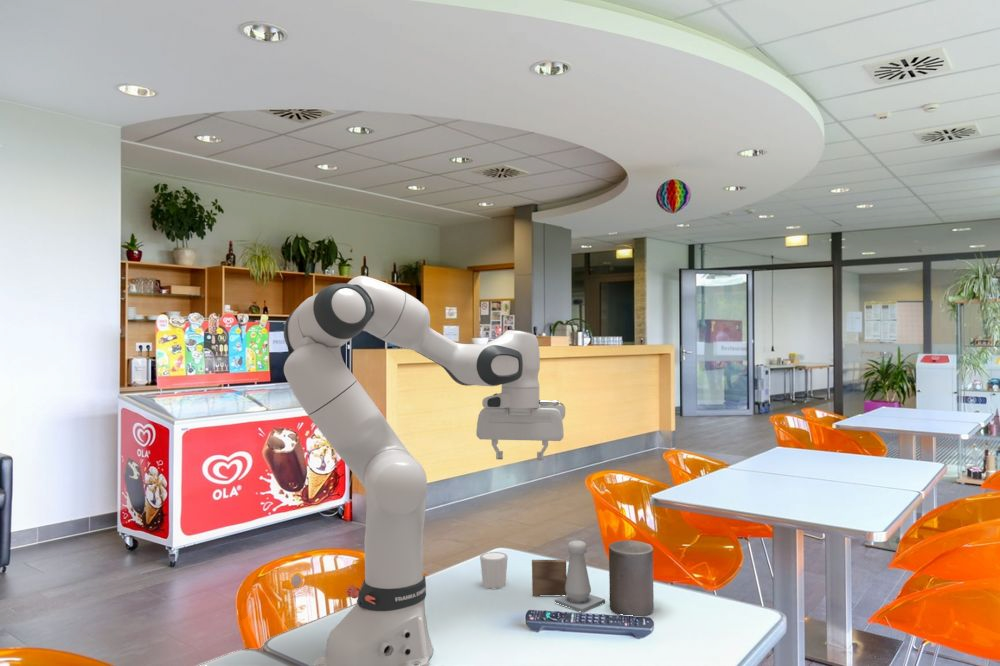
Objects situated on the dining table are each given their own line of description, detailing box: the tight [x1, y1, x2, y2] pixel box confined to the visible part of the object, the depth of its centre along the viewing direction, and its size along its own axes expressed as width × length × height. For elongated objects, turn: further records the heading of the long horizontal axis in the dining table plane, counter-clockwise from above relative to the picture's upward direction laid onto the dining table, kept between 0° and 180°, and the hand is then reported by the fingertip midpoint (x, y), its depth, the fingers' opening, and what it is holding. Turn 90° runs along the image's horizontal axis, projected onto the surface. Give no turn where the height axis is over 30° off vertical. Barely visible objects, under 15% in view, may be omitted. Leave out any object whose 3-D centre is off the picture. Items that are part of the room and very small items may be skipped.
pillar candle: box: [608, 539, 655, 617], centre depth 150 cm, size 10×10×15 cm
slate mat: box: [554, 593, 606, 613], centre depth 154 cm, size 8×8×1 cm
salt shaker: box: [565, 540, 592, 603], centre depth 154 cm, size 6×6×13 cm
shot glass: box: [479, 551, 508, 590], centre depth 167 cm, size 7×7×7 cm
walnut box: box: [531, 559, 567, 597], centre depth 159 cm, size 8×2×8 cm, turn 87°
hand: (519, 459), depth 158 cm, fingers open, 8 cm apart
